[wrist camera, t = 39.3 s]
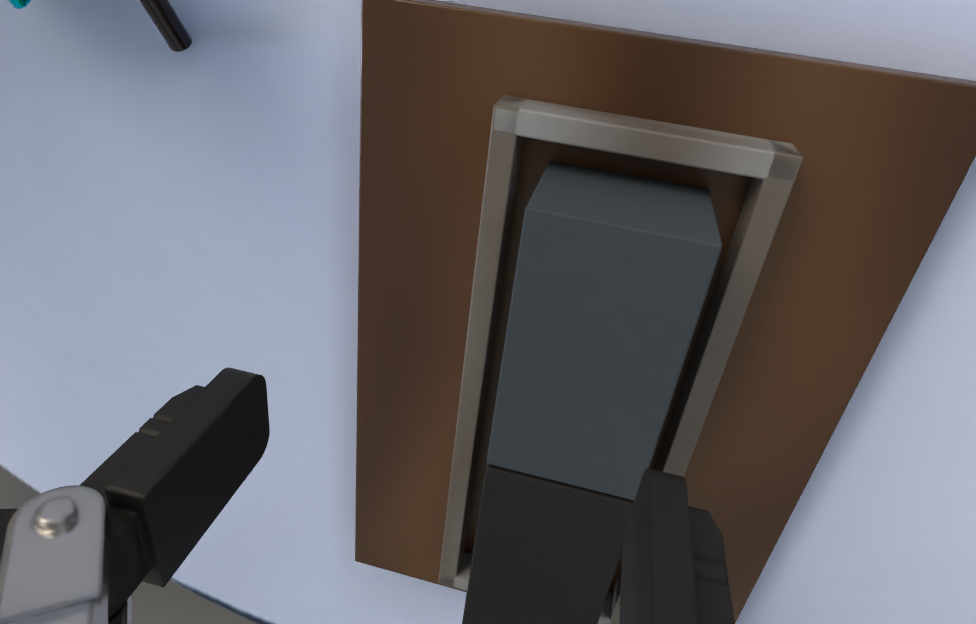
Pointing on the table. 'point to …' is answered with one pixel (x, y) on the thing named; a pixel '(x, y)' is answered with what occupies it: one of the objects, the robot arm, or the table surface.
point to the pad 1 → (600, 324)
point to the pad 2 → (542, 551)
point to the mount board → (649, 154)
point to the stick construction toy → (162, 18)
